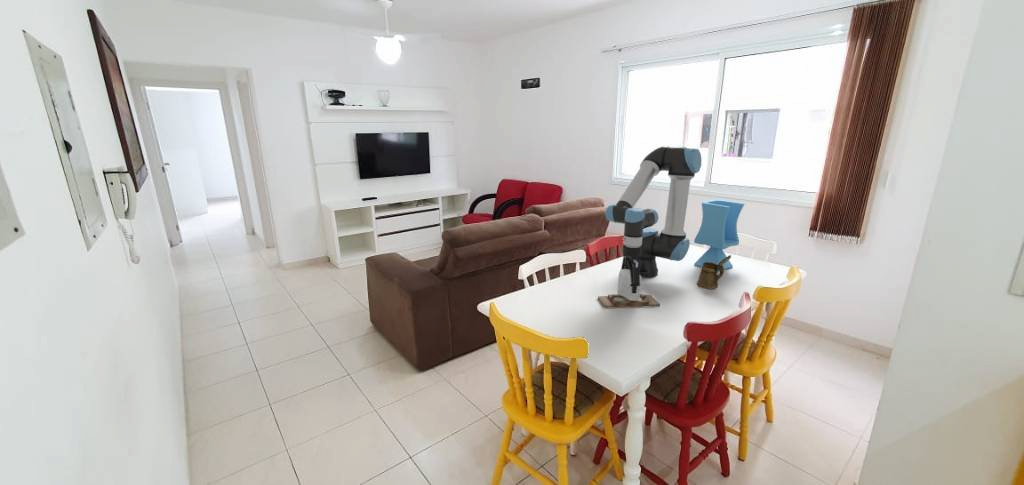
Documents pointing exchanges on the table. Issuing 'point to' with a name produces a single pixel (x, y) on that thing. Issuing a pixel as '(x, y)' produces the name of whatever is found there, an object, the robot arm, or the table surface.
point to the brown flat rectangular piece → (627, 301)
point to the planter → (718, 230)
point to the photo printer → (626, 284)
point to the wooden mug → (711, 274)
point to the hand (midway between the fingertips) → (628, 294)
